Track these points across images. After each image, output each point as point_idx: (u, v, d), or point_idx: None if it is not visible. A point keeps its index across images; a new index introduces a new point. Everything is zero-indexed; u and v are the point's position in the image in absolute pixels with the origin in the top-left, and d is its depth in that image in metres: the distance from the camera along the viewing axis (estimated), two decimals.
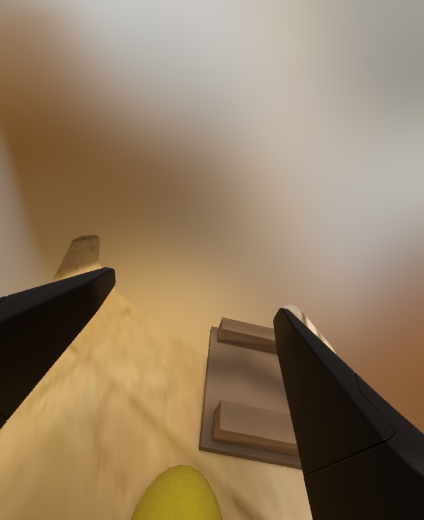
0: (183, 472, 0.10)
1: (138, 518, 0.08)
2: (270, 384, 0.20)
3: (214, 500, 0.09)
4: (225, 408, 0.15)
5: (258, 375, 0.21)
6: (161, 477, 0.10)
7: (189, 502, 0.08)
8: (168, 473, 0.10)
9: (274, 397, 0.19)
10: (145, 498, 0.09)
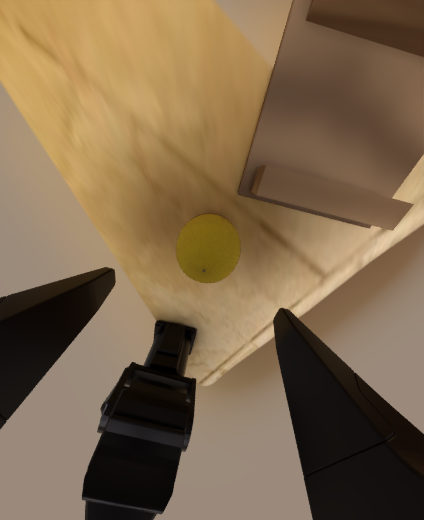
0: (208, 231, 0.11)
1: (178, 244, 0.12)
2: (367, 134, 0.12)
3: (232, 248, 0.12)
4: (269, 175, 0.11)
5: (356, 117, 0.12)
6: (191, 228, 0.12)
7: (209, 252, 0.11)
8: (196, 227, 0.11)
9: (357, 155, 0.13)
10: (181, 236, 0.12)
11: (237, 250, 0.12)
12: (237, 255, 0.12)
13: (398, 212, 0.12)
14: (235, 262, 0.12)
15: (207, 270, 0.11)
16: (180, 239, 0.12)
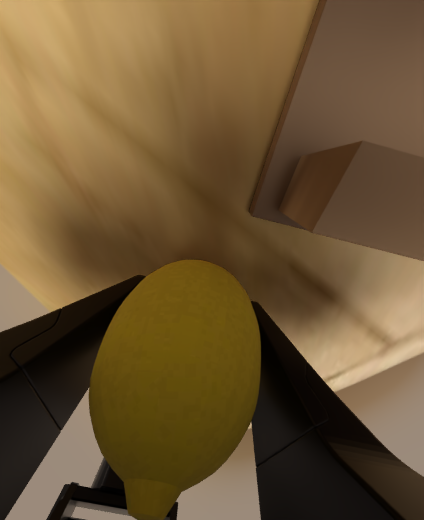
0: (167, 361, 0.03)
1: None
2: None
3: (247, 397, 0.04)
4: (365, 177, 0.04)
5: None
6: (124, 333, 0.04)
7: (168, 454, 0.03)
8: (136, 336, 0.04)
9: None
10: (101, 348, 0.04)
11: (257, 383, 0.04)
12: (257, 393, 0.04)
13: None
14: (252, 413, 0.04)
15: None
16: (97, 357, 0.04)
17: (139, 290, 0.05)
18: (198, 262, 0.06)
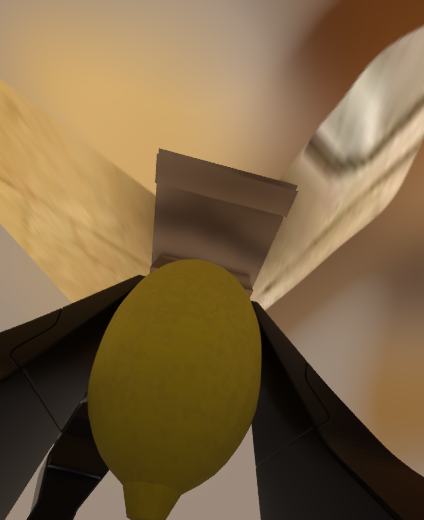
0: (167, 362, 0.03)
1: (91, 371, 0.04)
2: (227, 239, 0.18)
3: (247, 398, 0.04)
4: None
5: (216, 230, 0.17)
6: (123, 333, 0.04)
7: (168, 457, 0.03)
8: (136, 337, 0.04)
9: (225, 250, 0.18)
10: (100, 349, 0.04)
11: (258, 384, 0.04)
12: (258, 394, 0.04)
13: None
14: None
15: None
16: (95, 358, 0.04)
17: (138, 290, 0.05)
18: (198, 262, 0.06)
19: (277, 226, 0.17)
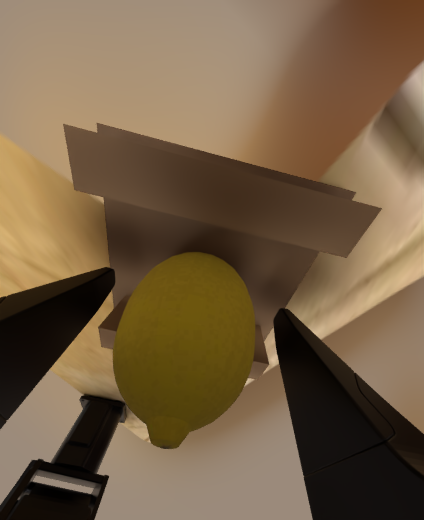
0: (179, 328, 0.04)
1: (114, 342, 0.05)
2: None
3: (242, 359, 0.05)
4: (106, 335, 0.10)
5: None
6: (142, 309, 0.05)
7: (181, 396, 0.04)
8: (152, 311, 0.05)
9: None
10: (122, 323, 0.05)
11: (252, 351, 0.05)
12: (251, 360, 0.05)
13: (256, 368, 0.11)
14: (247, 377, 0.05)
15: (175, 445, 0.04)
16: (118, 331, 0.05)
17: (150, 277, 0.06)
18: (200, 254, 0.07)
19: (312, 259, 0.10)
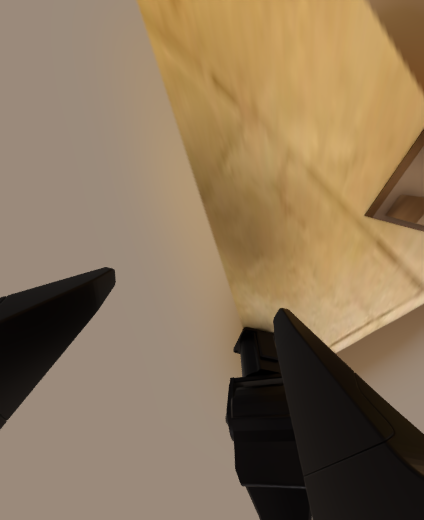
0: None
1: None
2: None
3: None
4: None
5: None
6: None
7: None
8: None
9: None
10: None
11: None
12: None
13: None
14: None
15: None
16: None
17: None
18: None
19: None
